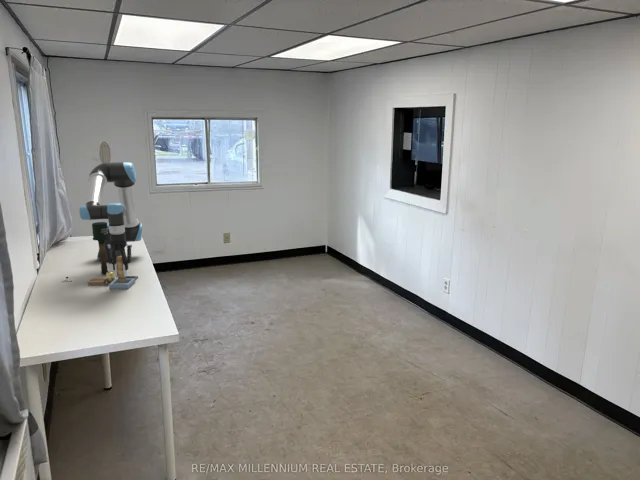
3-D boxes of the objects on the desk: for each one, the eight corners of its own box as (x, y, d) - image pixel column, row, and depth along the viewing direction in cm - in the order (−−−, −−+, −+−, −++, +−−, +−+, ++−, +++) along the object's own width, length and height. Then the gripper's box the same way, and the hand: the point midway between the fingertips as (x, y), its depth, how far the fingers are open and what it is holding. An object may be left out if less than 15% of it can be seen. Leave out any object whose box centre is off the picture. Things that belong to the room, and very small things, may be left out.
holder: (125, 278, 268) (125, 276, 268) (138, 278, 268) (137, 276, 268) (120, 282, 261) (120, 280, 261) (133, 282, 261) (133, 280, 261)
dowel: (120, 281, 256) (117, 255, 253) (126, 281, 256) (124, 255, 253) (117, 283, 253) (114, 257, 249) (124, 283, 253) (121, 257, 250)
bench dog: (109, 281, 262) (107, 271, 260) (116, 281, 262) (115, 271, 260) (106, 284, 258) (104, 273, 256) (113, 284, 258) (112, 273, 256)
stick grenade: (106, 276, 270) (101, 225, 263) (93, 275, 272) (87, 224, 265) (116, 272, 278) (111, 222, 271) (102, 271, 280) (97, 221, 273)
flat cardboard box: (93, 281, 263) (93, 277, 262) (108, 281, 264) (108, 277, 263) (88, 286, 255) (87, 282, 255) (103, 286, 256) (103, 281, 255)
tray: (116, 282, 260) (116, 278, 259) (135, 282, 260) (134, 278, 259) (109, 289, 250) (108, 284, 249) (128, 289, 250) (128, 284, 250)
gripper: (98, 234, 244) (102, 278, 250) (130, 234, 245) (134, 278, 250) (104, 231, 252) (108, 273, 257) (136, 231, 252) (139, 273, 257)
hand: (121, 275), depth 254 cm, fingers closed on dowel, 3 cm apart
